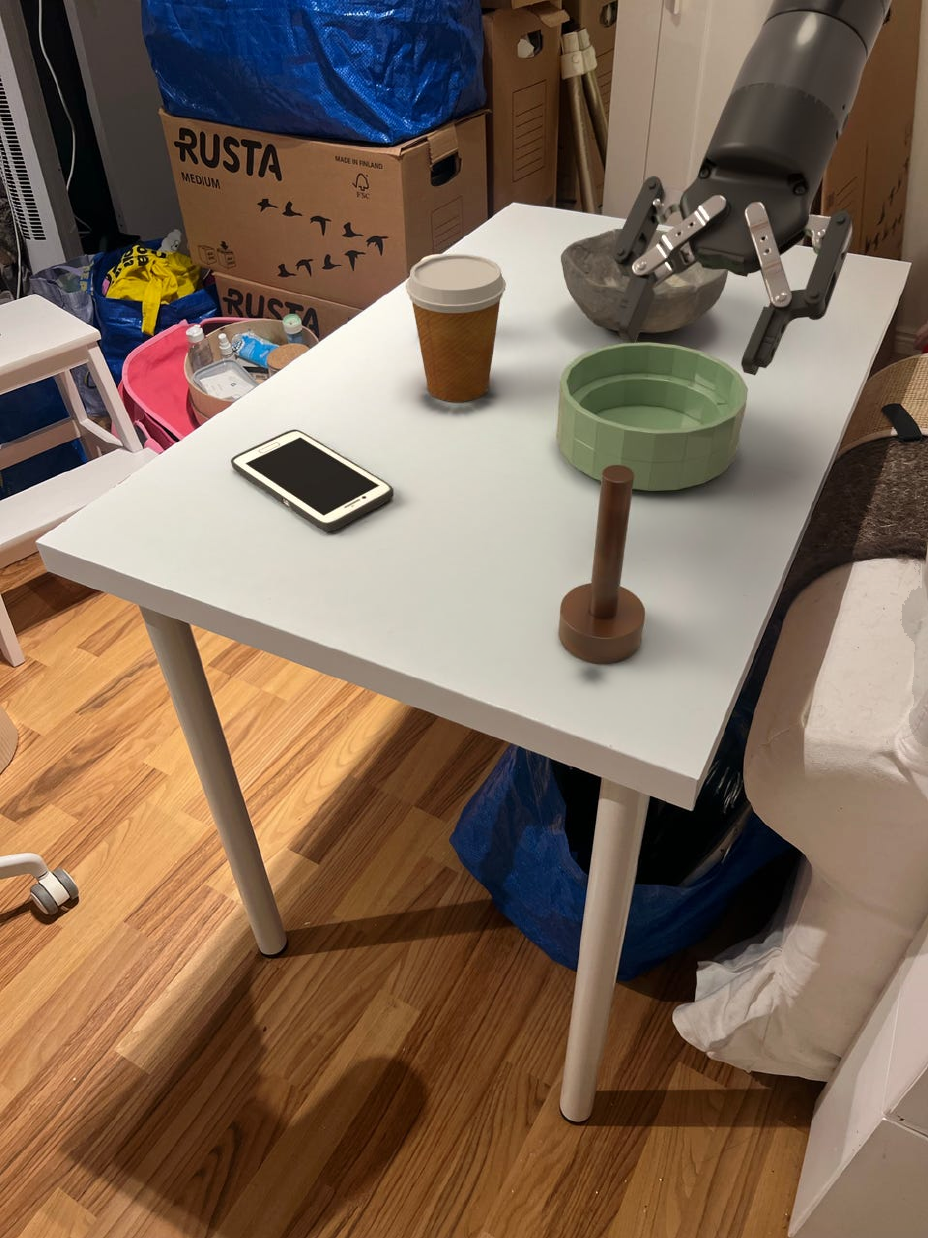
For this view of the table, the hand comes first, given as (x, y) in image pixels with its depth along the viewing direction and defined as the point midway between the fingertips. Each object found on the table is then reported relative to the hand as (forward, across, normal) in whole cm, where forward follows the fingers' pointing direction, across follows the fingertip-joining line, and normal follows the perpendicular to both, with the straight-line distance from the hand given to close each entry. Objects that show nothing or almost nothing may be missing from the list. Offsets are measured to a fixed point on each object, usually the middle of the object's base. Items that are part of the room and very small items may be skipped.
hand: (685, 353), depth 60 cm
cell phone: (+17, -31, +9) cm, 36 cm away
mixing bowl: (+2, -8, +24) cm, 26 cm away
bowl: (-15, -20, +41) cm, 48 cm away
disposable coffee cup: (+2, -29, +25) cm, 38 cm away
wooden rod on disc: (+19, 0, +7) cm, 20 cm away
